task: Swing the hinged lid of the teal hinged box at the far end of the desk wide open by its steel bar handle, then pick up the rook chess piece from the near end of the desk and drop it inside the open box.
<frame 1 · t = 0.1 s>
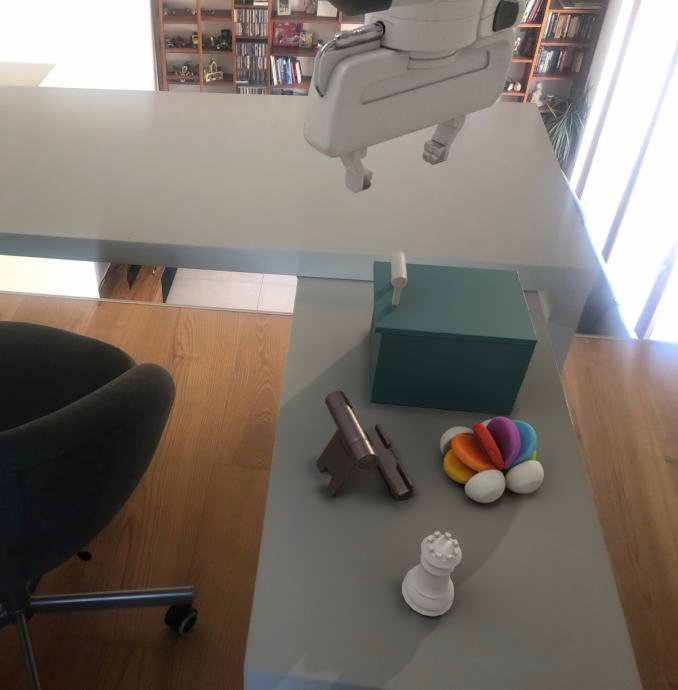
hand: (396, 174, 63), 28 cm above the table, tool pointing down, fingers open, 8 cm apart
lid: (452, 285, 76), point 13 cm above the table, hinge at 0.0°
tablet stand: (359, 474, 72), on the table
rook chess piece: (425, 596, 62), on the table
multicoloured rounded lobed piece: (484, 473, 72), on the table
teal hinged box: (435, 371, 84), on the table
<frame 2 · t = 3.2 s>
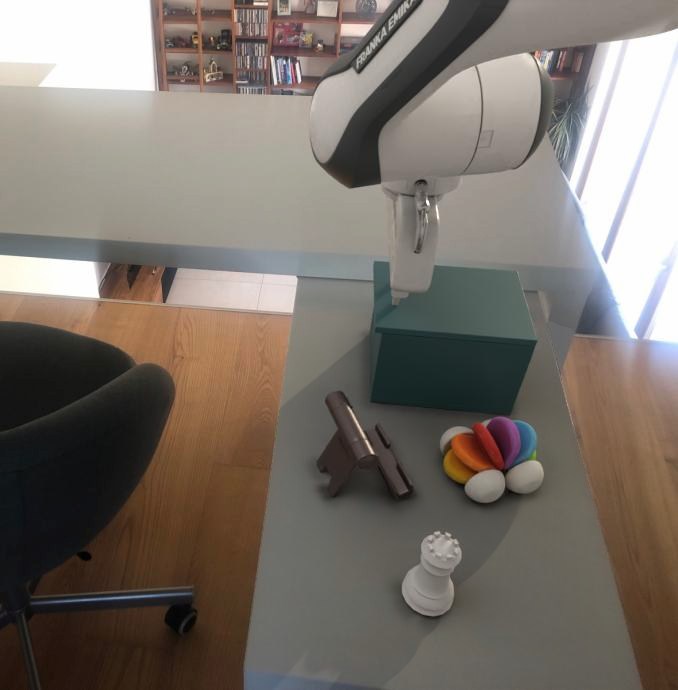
hand: (397, 276, 76), 13 cm above the table, tool pointing down, fingers closed on lid, 5 cm apart
lid: (452, 285, 76), point 13 cm above the table, hinge at 0.1°, touching gripper
everything else where it was.
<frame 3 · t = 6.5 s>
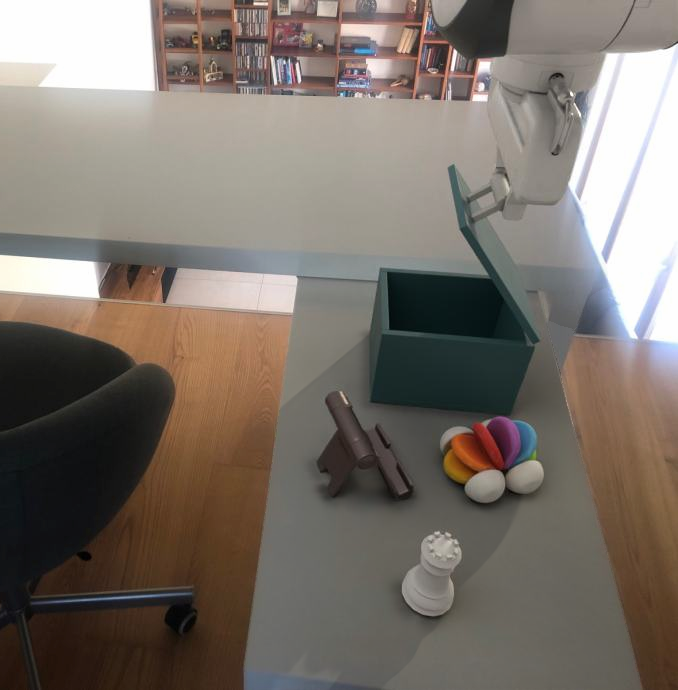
hand: (505, 199, 68), 23 cm above the table, tool pointing down, fingers closed on lid, 5 cm apart
lid: (512, 244, 71), point 18 cm above the table, hinge at 52.6°, touching gripper
everything else where it was.
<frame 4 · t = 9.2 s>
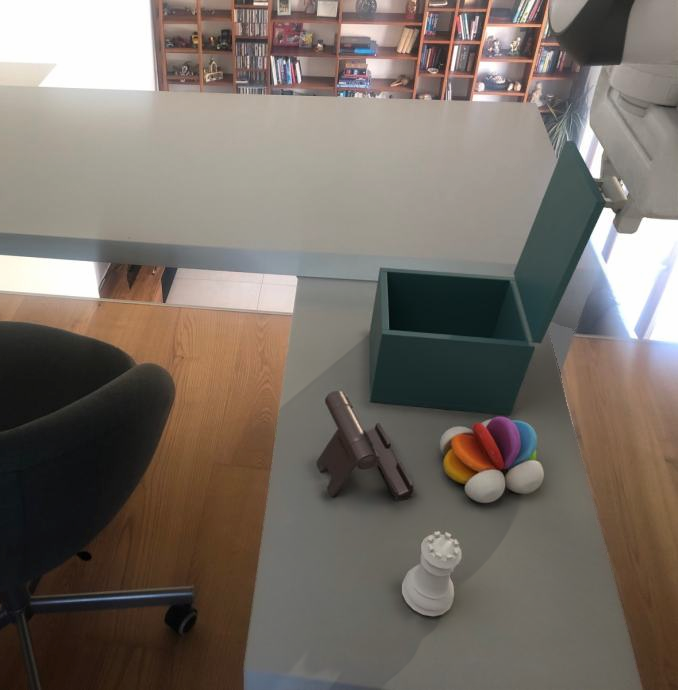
hand: (613, 212, 67), 23 cm above the table, tool pointing down, fingers closed on lid, 5 cm apart
lid: (573, 245, 70), point 19 cm above the table, hinge at 93.6°, touching gripper
everything else where it was.
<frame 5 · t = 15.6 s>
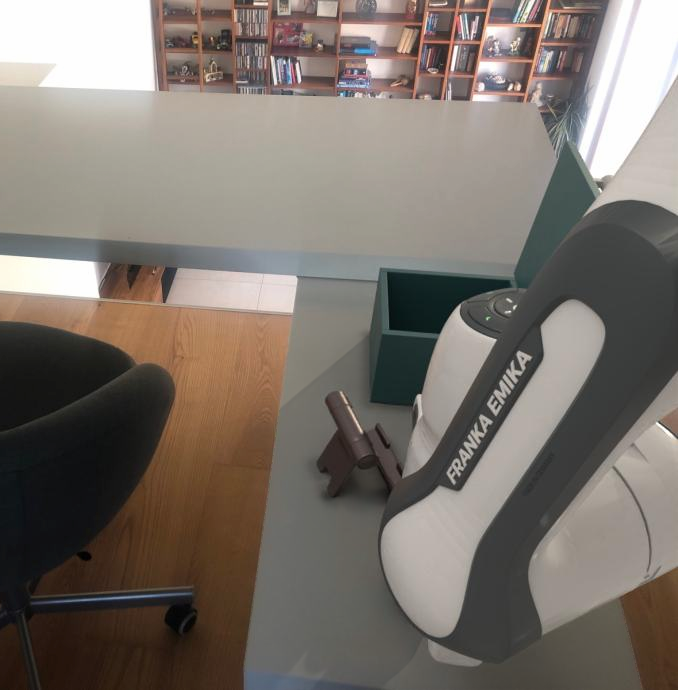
hand: (431, 578, 60), 3 cm above the table, tool pointing down, fingers closed on rook chess piece, 3 cm apart
lid: (573, 245, 70), point 19 cm above the table, hinge at 93.6°
rook chess piece: (425, 596, 62), on the table, touching gripper
everything else where it was.
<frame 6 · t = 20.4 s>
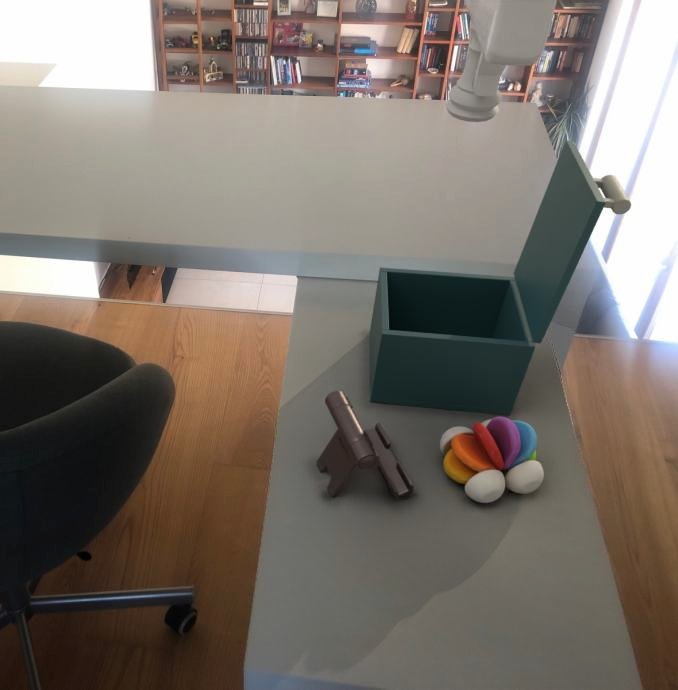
hand: (479, 81, 58), 36 cm above the table, tool pointing down, fingers closed on rook chess piece, 3 cm apart
rook chess piece: (470, 115, 60), point 33 cm above the table, touching gripper
everything else where it was.
when the fingers open (11 cm above the table, at t = 25.7 s): rook chess piece drops 7 cm, resting on teal hinged box.
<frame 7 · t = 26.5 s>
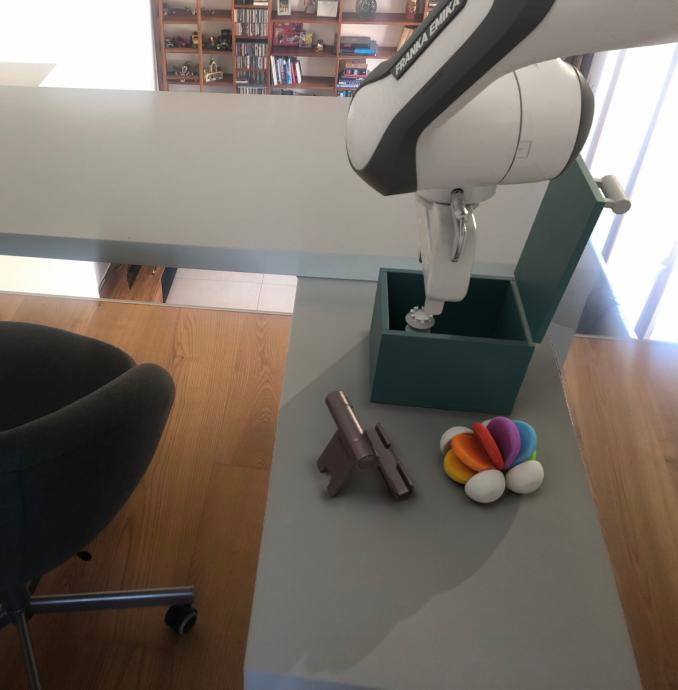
hand: (428, 284, 76), 13 cm above the table, tool pointing down, fingers open, 8 cm apart
rook chess piece: (410, 366, 84), point 1 cm above the table, touching teal hinged box
everything else where it was.
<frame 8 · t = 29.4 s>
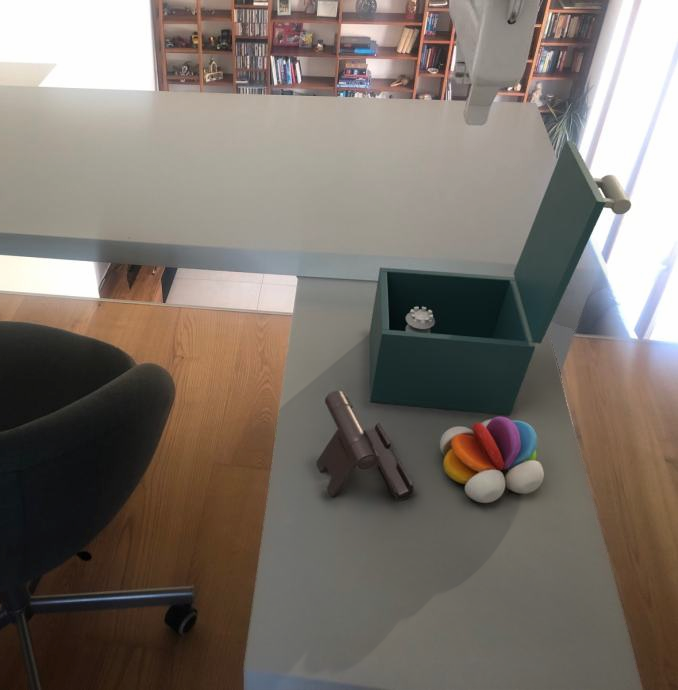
hand: (467, 100, 63), 33 cm above the table, tool pointing down, fingers open, 8 cm apart
nothing on the table moved.
at the end: lid at +94° (first picture: +0°); rook chess piece inside the target area in the teal hinged box (3.1 cm from its centre), point 0.6 cm above the teal hinged box's base; the gripper is holding nothing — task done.
